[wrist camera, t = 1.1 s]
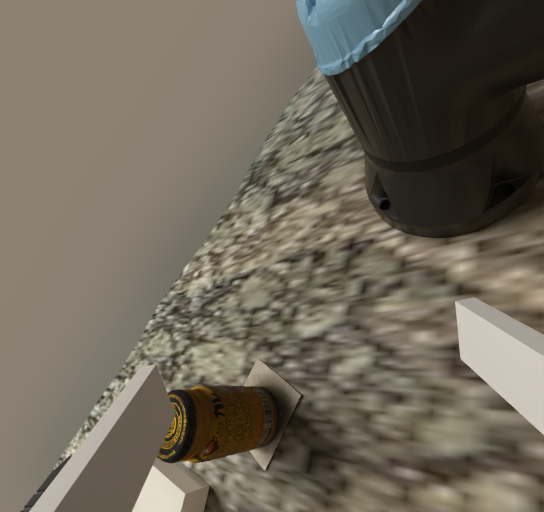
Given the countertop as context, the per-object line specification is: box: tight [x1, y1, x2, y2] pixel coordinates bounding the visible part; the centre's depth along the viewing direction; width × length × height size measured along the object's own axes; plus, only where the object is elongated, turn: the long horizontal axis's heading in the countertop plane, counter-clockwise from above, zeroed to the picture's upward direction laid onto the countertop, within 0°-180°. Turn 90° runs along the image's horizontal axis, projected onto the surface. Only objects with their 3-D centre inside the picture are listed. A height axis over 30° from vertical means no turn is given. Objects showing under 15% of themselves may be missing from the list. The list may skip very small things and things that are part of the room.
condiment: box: [157, 358, 301, 470], centre depth 27 cm, size 7×8×12 cm
